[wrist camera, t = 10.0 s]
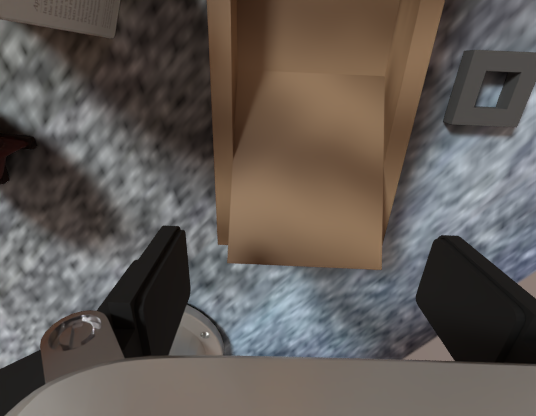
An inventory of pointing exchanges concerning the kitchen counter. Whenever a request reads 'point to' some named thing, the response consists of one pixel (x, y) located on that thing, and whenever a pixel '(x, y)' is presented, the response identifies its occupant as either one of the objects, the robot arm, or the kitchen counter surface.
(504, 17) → the kitchen counter surface
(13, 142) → the mate gourd
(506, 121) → the square washer
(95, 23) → the small box
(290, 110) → the brown long open tray
